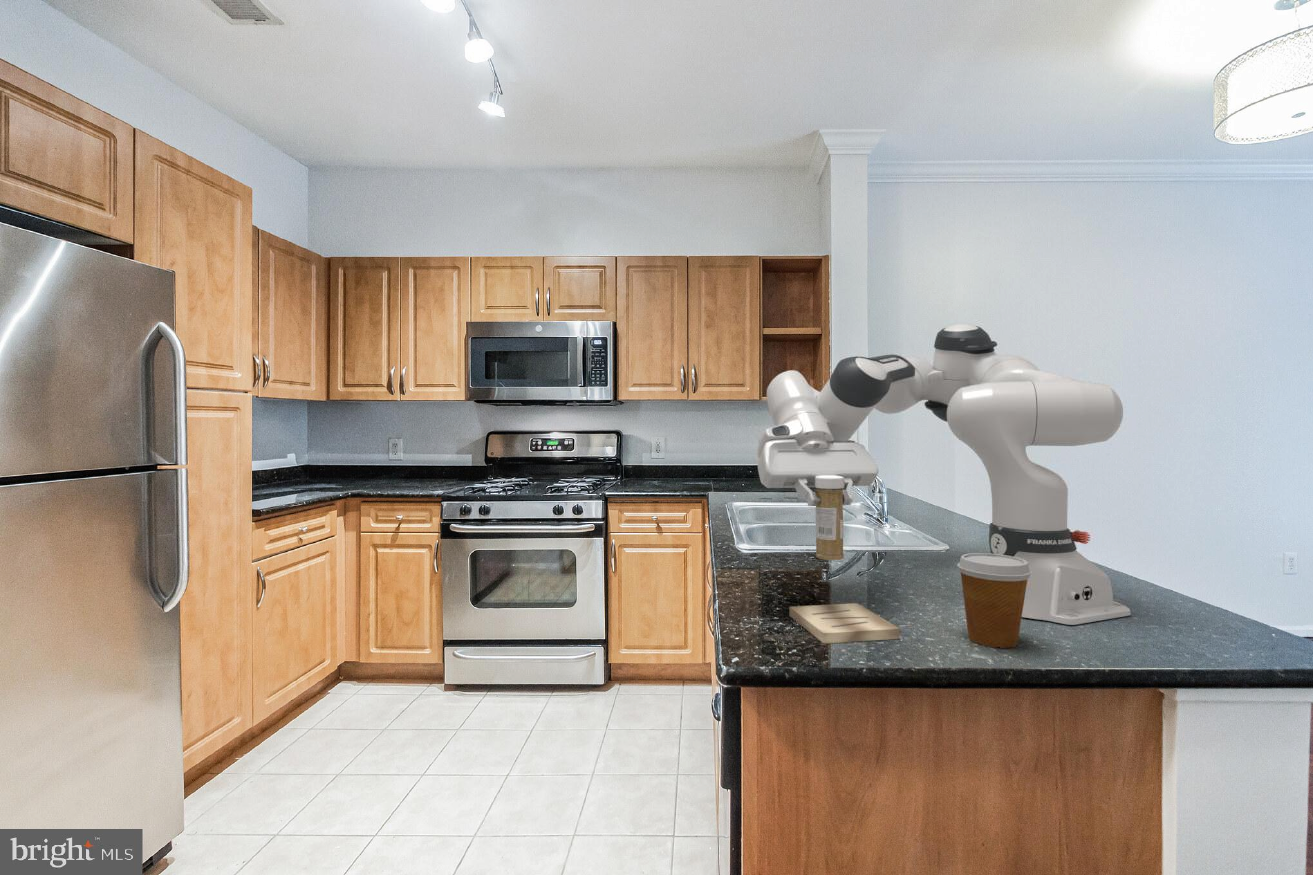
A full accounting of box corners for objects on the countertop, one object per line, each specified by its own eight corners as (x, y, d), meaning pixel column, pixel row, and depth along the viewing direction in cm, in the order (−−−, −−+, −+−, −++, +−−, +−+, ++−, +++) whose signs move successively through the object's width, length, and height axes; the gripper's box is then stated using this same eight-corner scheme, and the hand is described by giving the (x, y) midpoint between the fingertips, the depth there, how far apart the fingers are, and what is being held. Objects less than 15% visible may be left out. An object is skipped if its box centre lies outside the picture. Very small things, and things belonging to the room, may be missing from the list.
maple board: (856, 611, 104) (856, 602, 104) (899, 638, 91) (899, 628, 91) (789, 615, 102) (789, 606, 102) (823, 643, 89) (823, 633, 89)
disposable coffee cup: (945, 629, 95) (946, 552, 95) (1009, 630, 95) (1010, 552, 94) (974, 651, 86) (975, 566, 85) (1044, 653, 85) (1046, 567, 85)
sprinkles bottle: (849, 558, 100) (849, 476, 100) (831, 562, 98) (831, 477, 97) (827, 553, 104) (827, 474, 104) (809, 557, 101) (809, 475, 101)
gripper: (855, 452, 113) (882, 513, 104) (748, 453, 110) (767, 516, 100) (867, 428, 109) (897, 490, 99) (756, 429, 105) (777, 492, 96)
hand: (831, 503), depth 100 cm, fingers closed on sprinkles bottle, 4 cm apart
